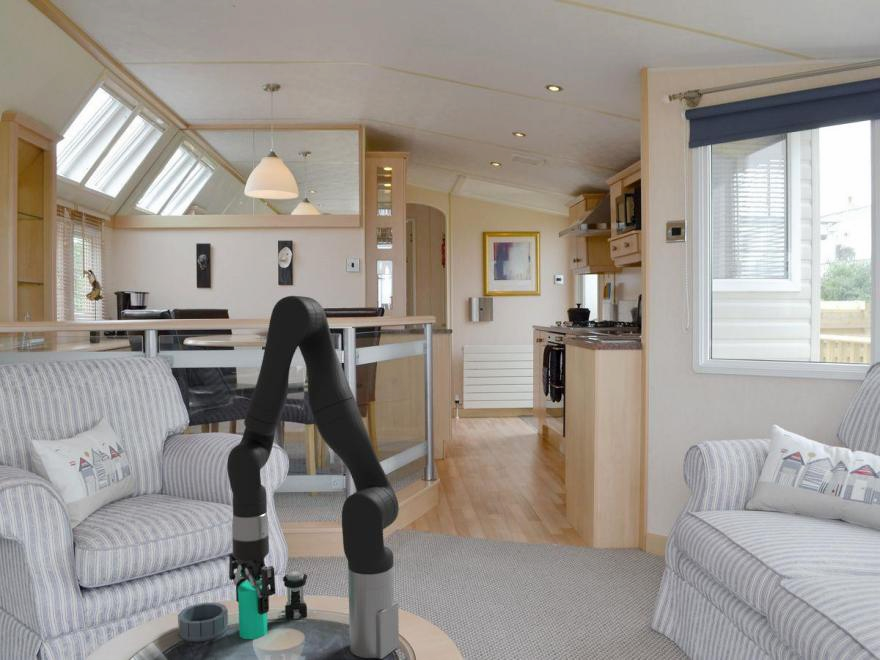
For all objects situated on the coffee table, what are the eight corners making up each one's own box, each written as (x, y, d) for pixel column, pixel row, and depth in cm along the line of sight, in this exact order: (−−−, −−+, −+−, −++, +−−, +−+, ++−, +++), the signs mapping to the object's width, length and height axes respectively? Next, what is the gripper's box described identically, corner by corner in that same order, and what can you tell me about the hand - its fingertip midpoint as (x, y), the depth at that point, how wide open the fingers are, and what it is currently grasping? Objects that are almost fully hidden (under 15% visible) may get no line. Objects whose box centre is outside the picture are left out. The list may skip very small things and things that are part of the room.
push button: (278, 624, 166) (277, 579, 165) (277, 613, 171) (275, 570, 170) (309, 619, 168) (308, 576, 167) (306, 609, 173) (305, 567, 172)
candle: (253, 623, 166) (251, 570, 165) (273, 630, 163) (272, 576, 162) (233, 635, 161) (231, 580, 160) (253, 641, 158) (251, 586, 157)
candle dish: (237, 626, 165) (236, 609, 164) (200, 646, 156) (199, 627, 156) (206, 616, 170) (205, 598, 170) (169, 634, 162) (168, 616, 161)
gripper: (284, 536, 158) (286, 611, 160) (247, 521, 168) (249, 591, 169) (253, 546, 153) (255, 623, 154) (217, 529, 163) (219, 602, 164)
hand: (252, 606), depth 162 cm, fingers open, 8 cm apart
